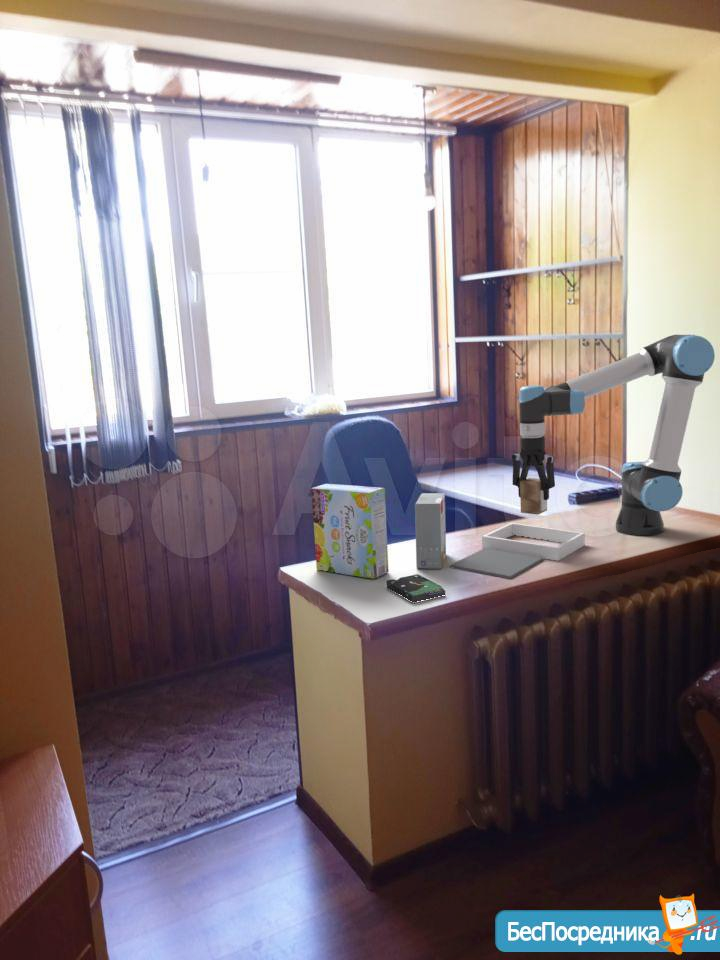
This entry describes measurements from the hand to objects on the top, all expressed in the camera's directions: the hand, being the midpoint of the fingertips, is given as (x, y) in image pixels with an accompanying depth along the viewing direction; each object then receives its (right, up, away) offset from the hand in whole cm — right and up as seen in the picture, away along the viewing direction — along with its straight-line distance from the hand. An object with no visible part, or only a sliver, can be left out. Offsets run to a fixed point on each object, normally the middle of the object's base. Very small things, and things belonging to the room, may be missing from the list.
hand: (533, 508), depth 240 cm
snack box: (-57, -19, -12) cm, 61 cm away
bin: (0, -12, +2) cm, 13 cm away
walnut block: (0, -1, 0) cm, 1 cm away
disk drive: (-40, -22, -33) cm, 56 cm away
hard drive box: (-33, -16, -7) cm, 37 cm away
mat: (-14, -16, -13) cm, 25 cm away
